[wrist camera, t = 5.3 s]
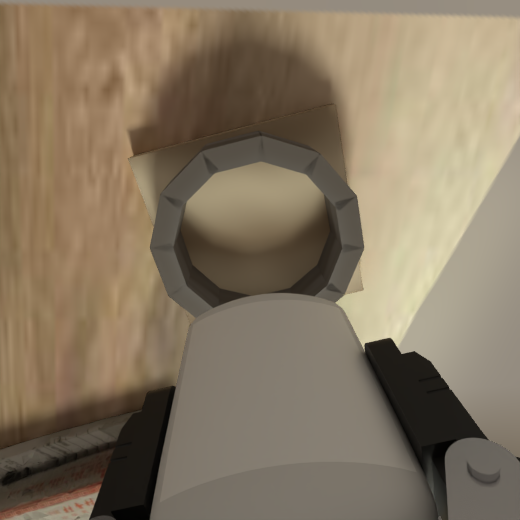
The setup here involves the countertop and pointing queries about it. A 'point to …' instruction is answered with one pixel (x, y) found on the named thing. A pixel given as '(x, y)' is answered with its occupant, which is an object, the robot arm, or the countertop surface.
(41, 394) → the countertop surface
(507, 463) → the robot arm
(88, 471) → the packaged product
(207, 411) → the eye dropper bottle
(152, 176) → the collar board
